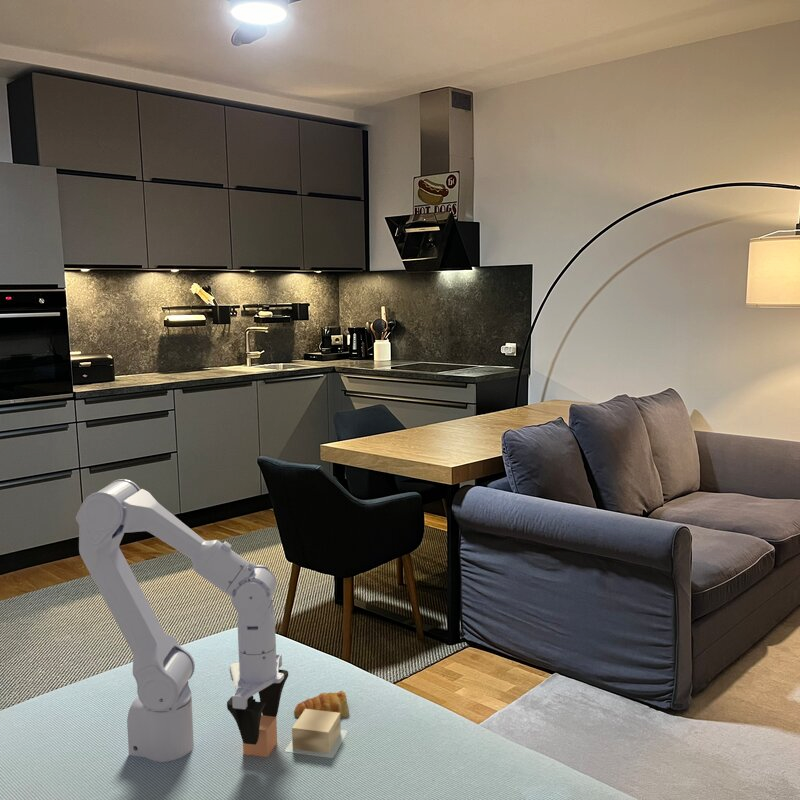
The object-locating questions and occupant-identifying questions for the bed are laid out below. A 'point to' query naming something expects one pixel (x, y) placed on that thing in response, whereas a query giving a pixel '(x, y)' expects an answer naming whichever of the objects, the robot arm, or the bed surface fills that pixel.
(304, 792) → the bed surface
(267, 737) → the top block
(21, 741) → the bed surface
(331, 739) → the base block
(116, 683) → the bed surface
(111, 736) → the bed surface
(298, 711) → the pastry
